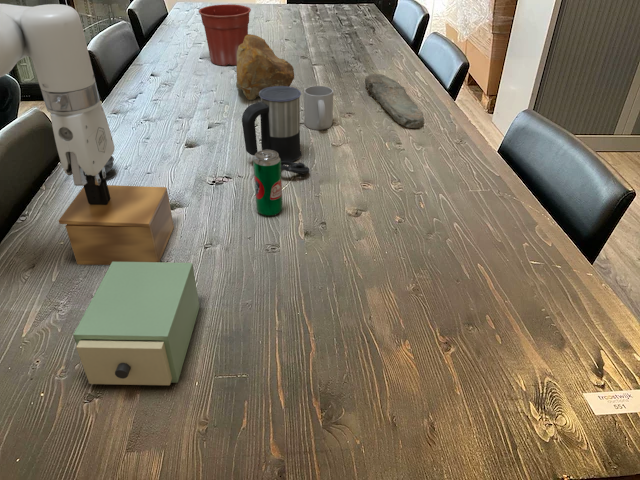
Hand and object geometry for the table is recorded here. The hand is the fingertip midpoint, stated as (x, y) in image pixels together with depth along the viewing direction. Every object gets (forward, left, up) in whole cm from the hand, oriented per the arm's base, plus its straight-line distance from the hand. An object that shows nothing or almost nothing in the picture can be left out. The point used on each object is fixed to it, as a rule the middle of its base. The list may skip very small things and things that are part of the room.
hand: (99, 202), depth 90 cm
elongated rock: (+56, +68, -9) cm, 88 cm away
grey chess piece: (-10, +25, -9) cm, 28 cm away
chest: (+3, 0, -9) cm, 9 cm away
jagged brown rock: (+20, +76, -9) cm, 79 cm away
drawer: (+13, -25, -8) cm, 30 cm away
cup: (+36, +52, -9) cm, 64 cm away
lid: (+3, 0, -1) cm, 3 cm away
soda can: (+27, +12, -9) cm, 31 cm away
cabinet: (+13, -23, -9) cm, 28 cm away
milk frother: (+29, +32, -9) cm, 44 cm away
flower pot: (+5, +105, -9) cm, 106 cm away
